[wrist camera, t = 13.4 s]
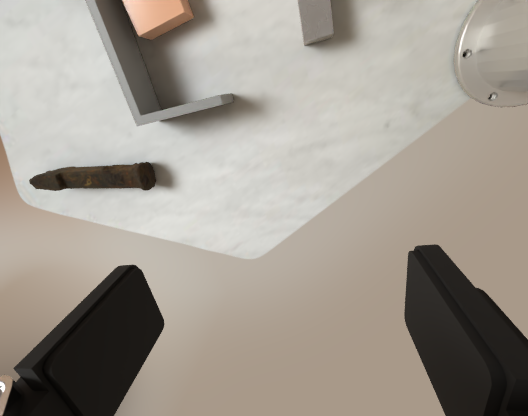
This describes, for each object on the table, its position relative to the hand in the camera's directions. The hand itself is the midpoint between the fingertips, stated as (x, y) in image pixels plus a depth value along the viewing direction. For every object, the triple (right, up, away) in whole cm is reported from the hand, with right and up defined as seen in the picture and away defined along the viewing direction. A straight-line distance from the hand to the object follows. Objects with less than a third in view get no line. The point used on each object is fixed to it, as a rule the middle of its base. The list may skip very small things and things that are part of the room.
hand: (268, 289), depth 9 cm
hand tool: (-26, +8, +32) cm, 42 cm away
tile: (-12, +27, +20) cm, 36 cm away
